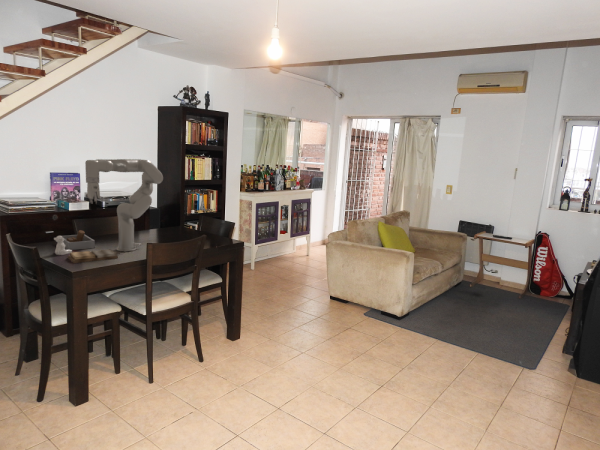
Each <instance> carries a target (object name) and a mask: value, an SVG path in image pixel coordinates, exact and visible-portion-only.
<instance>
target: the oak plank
mask: <svg viewBox="0 0 600 450" xmlns="http://www.w3.org/2000/svg"><path fill="white" fill-rule="evenodd" d="M69 256H72V257H73V258H74V259H75V260H77V259H88V258H95V255H94V254H93V253H91V251H89V250H88V251H72V253H70V254H69Z"/></svg>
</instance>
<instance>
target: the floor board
mask: <svg viewBox="0 0 600 450" xmlns="http://www.w3.org/2000/svg"><path fill="white" fill-rule="evenodd" d="M90 252H91V253H93V254H94V255H95V258H88V259H77V260H75V259H74V258H73V257H72V256H70V255H67V259H68V260H69V261H70V262H71V263H73V264H78V263H79V264H81V263H87V262H96V261H98V262H99V261H106V260H113V259H114V260H115V259H118V258H119V256H118V255H117V252H116V251H113V250H112V249H111V248H110V249H99V250H91V251H90Z"/></svg>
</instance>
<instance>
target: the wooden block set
mask: <svg viewBox="0 0 600 450" xmlns="http://www.w3.org/2000/svg"><path fill="white" fill-rule="evenodd" d="M84 234H85V231H84V230H81V229H79V230H78V232H77V234H76V235H77V238H74V237H72V238H67V241H69V242H81V241H82V240H83V237H84ZM85 235H86V234H85Z"/></svg>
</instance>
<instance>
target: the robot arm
mask: <svg viewBox="0 0 600 450" xmlns="http://www.w3.org/2000/svg"><path fill="white" fill-rule="evenodd" d="M84 167H85V183H87V184H86V186H87V187H86V188H87V191H86V195H87V198H88V199H89V207H90V211H97V209H98V207H97V203H98V200H100V199H101V191H100V172H102V173H110V172H116V173H142V174H141V185H140V187H139V188H137V190H136V191H135V192H133V194H131V195H130V197H129V203H128V202H122V203H120V204H119V205H118V206H117V208H116V213H117V214H116V216H117V219H118V222H117V223H118V246H117V247H116V249H115V250H116V251H118V252H134V251H136V250H137V247H141V246H142V243H141V242H135V222H134V220H136V219H138V218H140V217H141V216H143V215H144V213H146V211H147V210H148V209H149V208H150V207H151V206H152V203H153V199H152V196H151V195H152V193H153V191H154V186H153V185H159V184H161V183H162V182H163V180H164V176H163V173H162V172H161V170H159V168H157V166H156V165H154V163H153V162H151V161H150V160H148V159H141V158H140V159H139V158H138V159H136V158H135V159H134V158H133V159H131V158H129V159H127V158H123V159H121V158H120V159H119V158H117V159H115V158H114V159H108V158H107V159H105V158H104V159H102V158H100V159H99V158H98V159H97V158H96V159H87V160H85V166H84Z"/></svg>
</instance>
